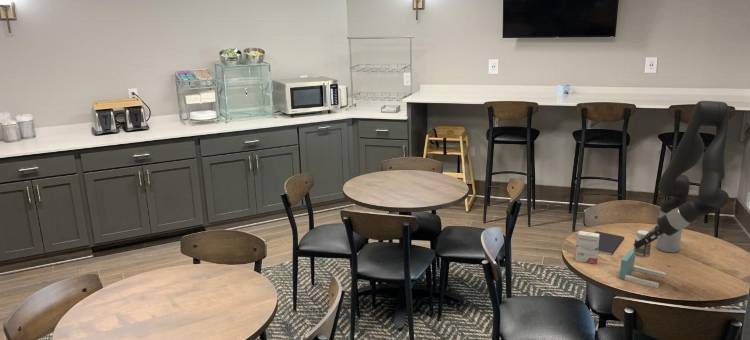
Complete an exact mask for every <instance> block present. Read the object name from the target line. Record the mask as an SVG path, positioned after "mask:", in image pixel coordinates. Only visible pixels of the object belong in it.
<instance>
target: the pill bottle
mask: <svg viewBox="0 0 750 340" xmlns="http://www.w3.org/2000/svg"><path fill="white" fill-rule="evenodd" d="M648 232H649V230H648V231H647V230H644V229H643V230H641V229H639V230H637V232H636V235H637V236H635V237H634V243H636V242H638V241H639V240H641V239H642V238H644V237H645V236H646V234H647V233H648ZM645 240H646V241H648V240H647V239H645ZM633 246H634V245H633ZM651 247H652V242H650V243H649V244H647V245H643V246H641V247H640V248H638V249H637V248H636V247H635V246H634V247H633V250H634V256H635V258H638V259H642V260H643V259H645V260H646V259H649V258H650V257H651Z"/></svg>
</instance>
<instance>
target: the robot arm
mask: <svg viewBox="0 0 750 340" xmlns="http://www.w3.org/2000/svg"><path fill="white" fill-rule="evenodd" d="M729 119H730V108H729V105H728V104H727V103H726V102H724V101H715V100H700V101H697V102H696V103H695V106H694V107H693V108H692V113H691V114H690V119H689V120H688V123H687V126H686V129H685V131H684V133H683V134H682V135H683V136H682V138H681V140H680V141H679V143H678V145H677V147H676V150H675V152H674V155H673V156H672V159H671V160H670V163H669V165H668V166H667V167H666V169H665V171H664V172H663V174H662V175H661V177H660V178H659V182H658V192H659V194H660V195H662V196H663V197H669V198H670V197H671V199H669V200H666V201H663V202H662V203H661V205H660V209H659V210H660V211H659V218H658V219H657V221H656V223H657V224H656V225H654V226H653V227H652V228H651V229H649V230H648V233H647V234H646V236H645V237H644V238H642V239H641V240H639V241H638V242H636V243H635V242H634V243H633V246H635V247H636V248H637V249H638V248H640V247H641V246H643V245H647V244H649V243H650V242H651V243H653V242H654V241H655V240H656V242H655V243H656V244H655V248H656V249H657V250H659V251H661V252H665V253H677V252H679V251H680V247H681V241H682V233H683V229H685V228H686V227H687V226H689V225H691V224H692V223H693V222H695V221H697V220H698V219H700V218H701V217H704V216H706V215H710V214H713V213H715V212H717V211H719V210H722V209H723V208H724V207H726V206H727V204H728V203H729V200H730V195H729V193H728V192H727V191H726V190H724V189H723V188H719V186H720V182H721V181H723V180H724V179H725V175H726V174H725V170H726V169H725V168H726V167H725V151H726V143H727V136H728V129H729ZM701 127H715V135H714V138H713V139H712V141H711V142H710V144H709V145H708V147H706V149H705V143H704V140H703V138H702V137H701V134H700V131H699V130H700V128H701ZM701 158H702V160H701ZM700 160H701V170H702V171H701V173H702V174H701V175H702V176H701V179H700V183H699V187H698V192H697V193H698V198H699V199H690V200H688V198H689V192H690V180H689V179H690V178H689V177H688V176H687V175H685V174H684V173H686V172H687V171H689V170H691V169H693V167H695V166H696V165H698V163H699V161H700ZM645 239H647V240H648V241H646V240H645Z"/></svg>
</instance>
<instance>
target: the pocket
mask: <svg viewBox="0 0 750 340" xmlns="http://www.w3.org/2000/svg"><path fill="white" fill-rule="evenodd" d="M635 261H636V257H635V256H634V249H632V248H631V249H629V250H628V251H627V252H626V254H625V255H624V256H623V257H622V258H621V260H620V267H619V268H620V270H619V279H621V280H623V281H628V282H632V283H636V284H639V285H644V286H646V287H647V286H648V287H651V288H655V289H658V288H659V286H660V283H659V282H656V281H652V280H650V279H649V280H648V279H644V278H639V277H635V276H632V275H630V274H631V273H632V271H635V272H640V273H644V274H647V275H650V276H655V277H659V278H663V279H664V278H666V276H667V272H663V271H658V270H655V269H650V268H647V267H642V266H638V265H635Z"/></svg>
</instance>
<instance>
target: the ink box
mask: <svg viewBox="0 0 750 340" xmlns="http://www.w3.org/2000/svg"><path fill="white" fill-rule="evenodd" d="M599 235H600V234H598V233H595V232H590V231H589V232H588V231H581V230H578V231H577V234H576V243H575V245H576V247H575V257H574V259H575V260H574V261H575V262H582V263H589V264H594V265H595V264H597V263H598V258H599V257H598V256H599V252H598V247H599Z"/></svg>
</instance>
